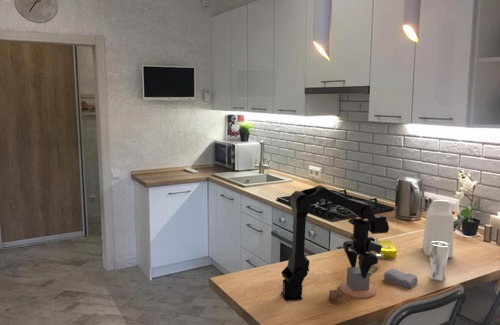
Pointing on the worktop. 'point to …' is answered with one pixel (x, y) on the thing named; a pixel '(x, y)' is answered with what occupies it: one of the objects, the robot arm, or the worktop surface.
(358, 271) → the matte slate cube
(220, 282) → the worktop surface
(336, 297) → the walnut block
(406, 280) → the stone block
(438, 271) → the beer glass
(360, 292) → the peach round platter
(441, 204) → the milk
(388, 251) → the element tile
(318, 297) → the worktop surface
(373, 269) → the bronze balance
